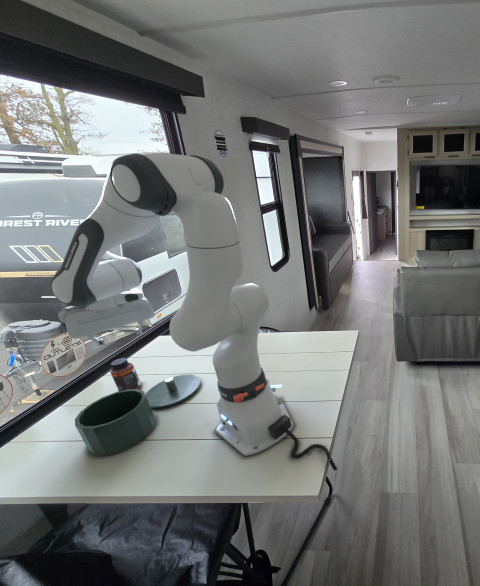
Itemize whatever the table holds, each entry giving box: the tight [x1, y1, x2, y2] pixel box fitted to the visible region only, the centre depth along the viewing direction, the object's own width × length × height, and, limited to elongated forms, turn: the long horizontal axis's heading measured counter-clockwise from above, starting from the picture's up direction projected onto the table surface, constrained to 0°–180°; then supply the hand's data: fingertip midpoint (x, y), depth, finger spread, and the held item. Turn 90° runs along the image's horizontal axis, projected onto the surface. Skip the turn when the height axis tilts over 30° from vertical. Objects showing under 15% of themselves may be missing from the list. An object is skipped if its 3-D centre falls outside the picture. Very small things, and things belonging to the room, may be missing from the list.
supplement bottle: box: [110, 357, 142, 392], centre depth 103 cm, size 6×6×11 cm
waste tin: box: [74, 388, 157, 457], centre depth 85 cm, size 15×15×10 cm
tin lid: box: [145, 374, 201, 409], centre depth 102 cm, size 16×16×5 cm
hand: (121, 339), depth 97 cm, fingers open, 8 cm apart
